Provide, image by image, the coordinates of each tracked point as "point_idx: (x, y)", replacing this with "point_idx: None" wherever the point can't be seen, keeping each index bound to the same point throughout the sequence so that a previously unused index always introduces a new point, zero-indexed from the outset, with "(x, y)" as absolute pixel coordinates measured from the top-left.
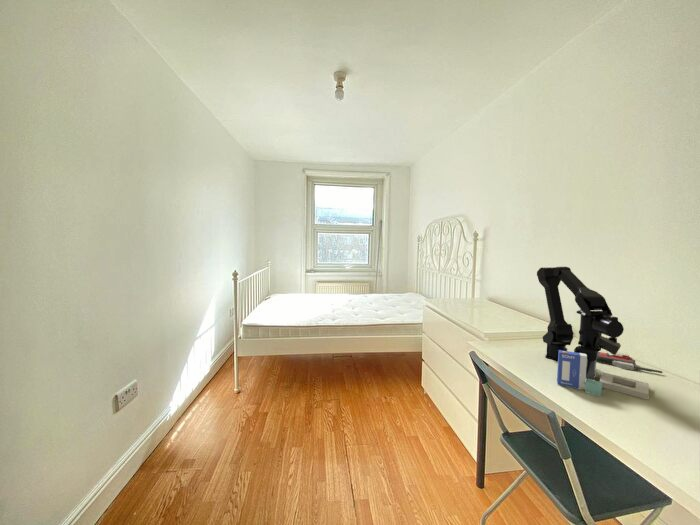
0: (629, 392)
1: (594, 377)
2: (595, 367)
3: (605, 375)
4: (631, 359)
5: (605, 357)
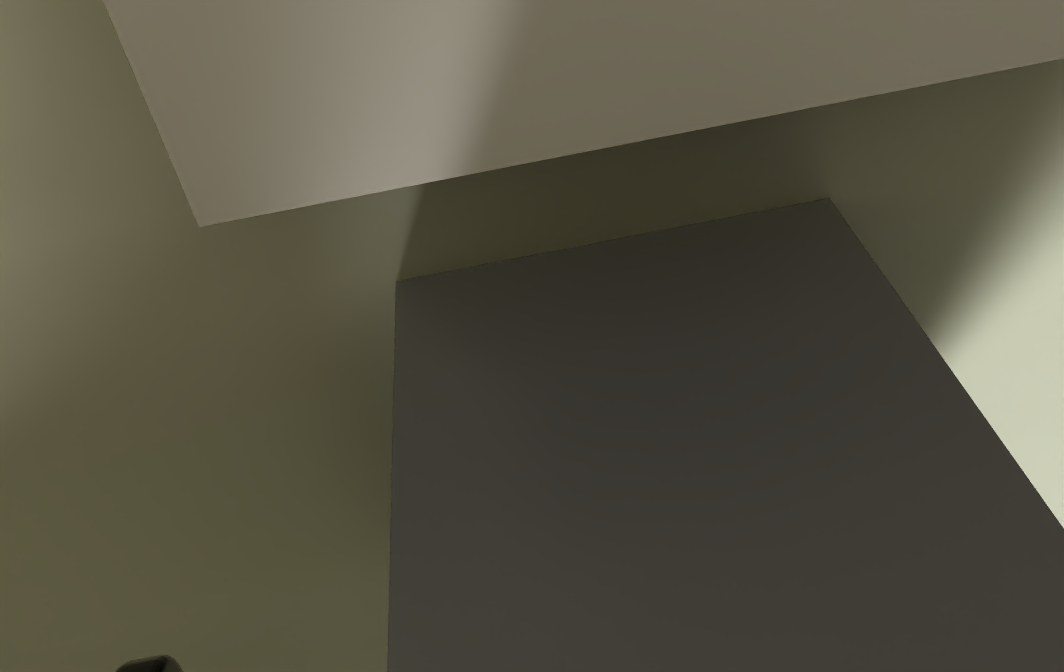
0: None
1: (637, 250)
2: (527, 551)
3: (567, 2)
4: None
5: None
